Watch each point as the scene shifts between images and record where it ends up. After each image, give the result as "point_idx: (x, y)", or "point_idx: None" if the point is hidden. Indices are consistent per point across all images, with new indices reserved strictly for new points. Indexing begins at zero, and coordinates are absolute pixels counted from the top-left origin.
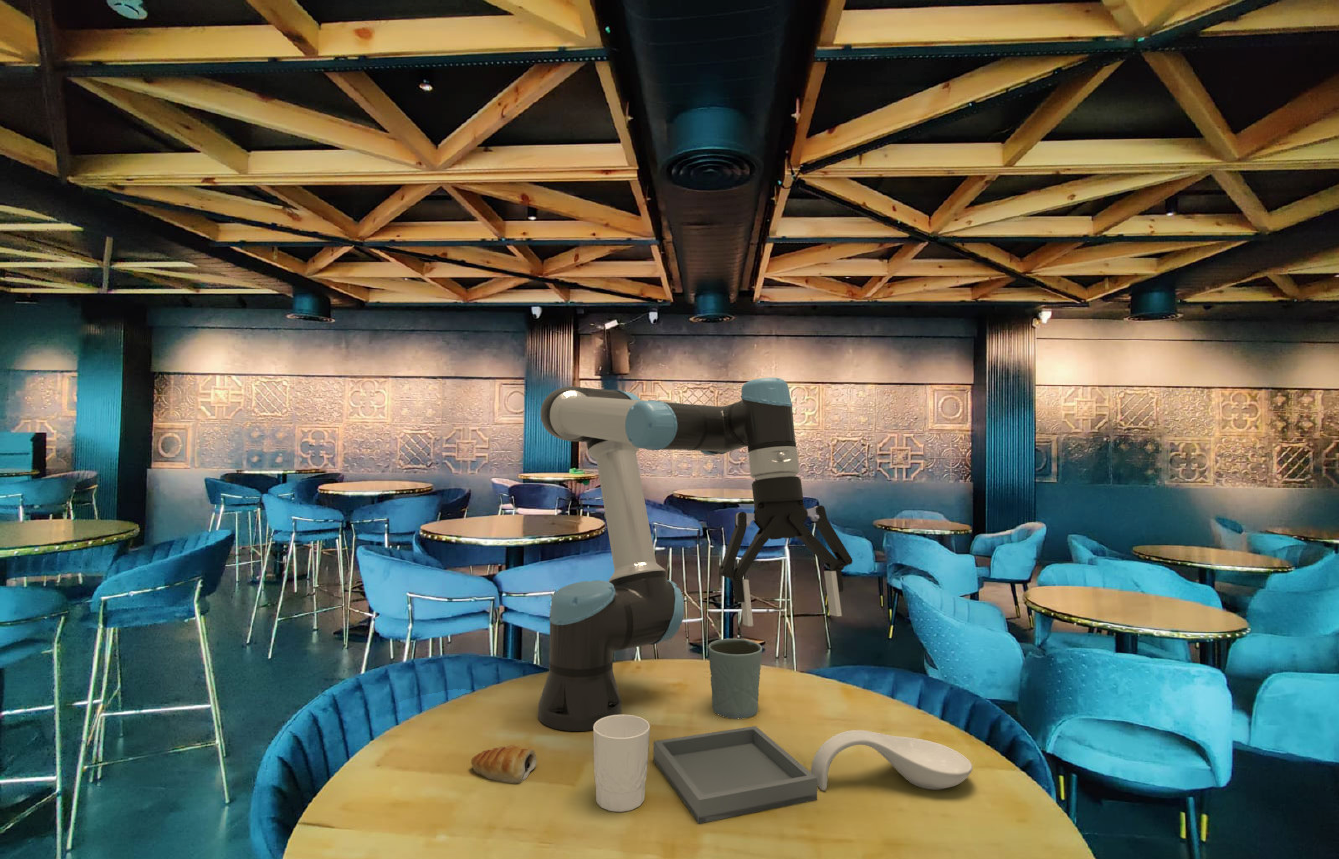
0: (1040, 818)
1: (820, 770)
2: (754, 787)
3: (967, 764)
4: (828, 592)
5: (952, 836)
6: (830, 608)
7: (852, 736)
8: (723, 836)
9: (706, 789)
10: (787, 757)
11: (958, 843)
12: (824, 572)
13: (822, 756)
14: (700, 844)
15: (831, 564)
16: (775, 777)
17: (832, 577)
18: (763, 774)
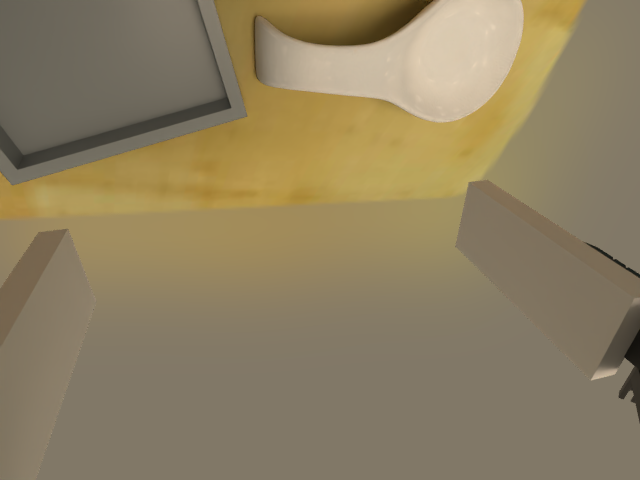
0: (486, 149)
1: (265, 74)
2: (123, 146)
3: (498, 78)
4: (527, 248)
5: (373, 182)
6: (480, 211)
7: (352, 69)
8: (71, 192)
9: (17, 80)
10: (209, 30)
11: (370, 193)
12: (624, 297)
13: (279, 64)
14: (34, 210)
15: (637, 409)
16: (176, 41)
17: (567, 354)
18: (151, 26)
